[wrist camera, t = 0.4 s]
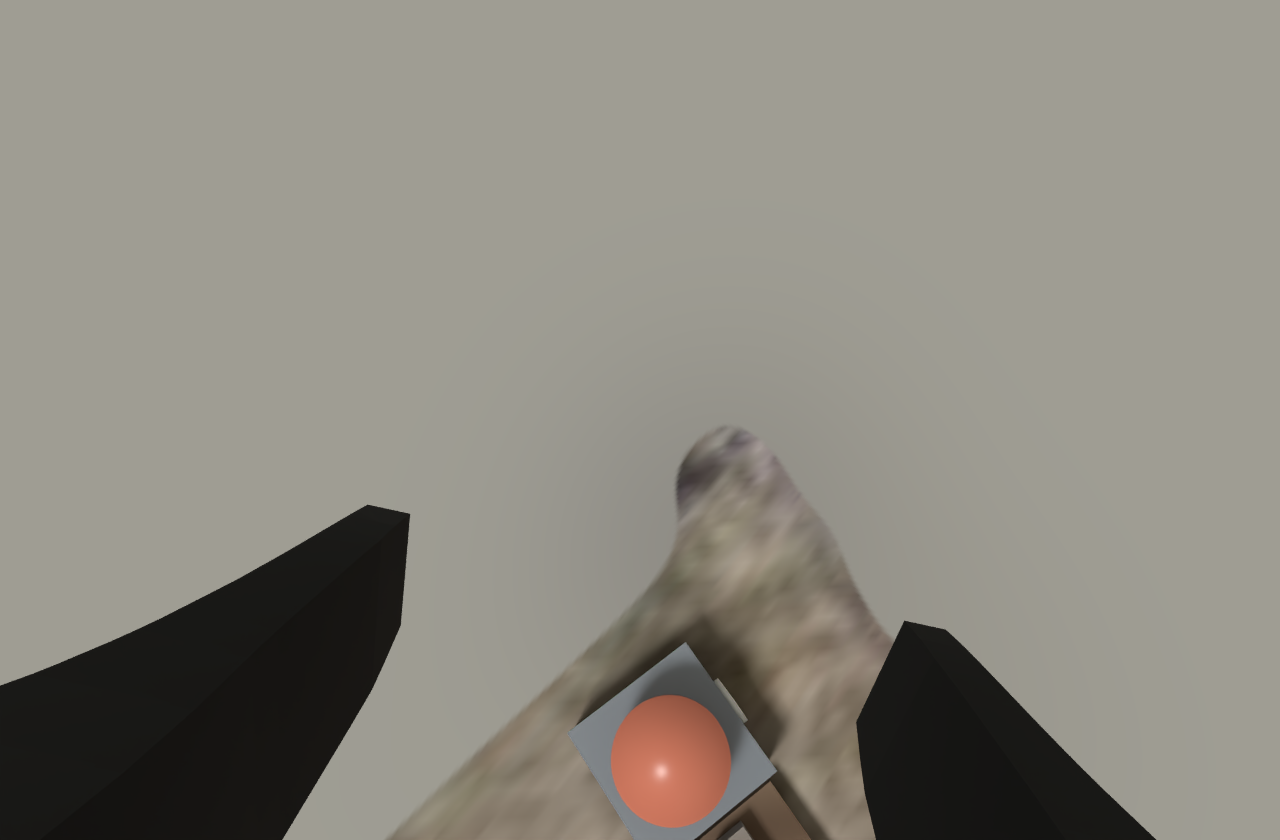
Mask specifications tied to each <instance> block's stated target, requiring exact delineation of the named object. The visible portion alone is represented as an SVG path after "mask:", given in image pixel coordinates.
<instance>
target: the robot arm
mask: <svg viewBox="0 0 1280 840" xmlns="http://www.w3.org/2000/svg"><path fill="white" fill-rule="evenodd" d="M409 520H410V514H408V513H404V512H399V511H394V510H389V509H385V508H381V507H376V506H371V505H366V506H364V507H363V508H361V509H359V510H357V511H356V512H354V513H352V514H350V515H349V516H347V517H345V518H343V519H342V520H340V521H338V522H337V523H335V524H333V525H331V526H330V527H328V528H326V529H325V530H323V531H321V532H319V533H318V534H316V535H315V536H313V537H311V538H309V539H308V540H306V541H304V542H303V543H301V544H299V545H297V546H296V547H294V548H292V549H291V550H289V551H287V552H285V553H284V554H282V555H280V556H278V557H277V558H275V559H273V560H271V561H269V562H268V563H266V564H264V565H262V566H260V567H259V568H257V569H255V570H253V571H252V572H250V573H248V574H246V575H244V576H243V577H241V578H239V579H237V580H235V581H234V582H231V583H229V584H228V585H225V586H224V587H222V588H220V589H218V590H216V591H214V592H212V593H210V594H208V595H206V596H204V597H202V598H200V599H198V600H196V601H194V602H192V603H190V604H188V605H186V606H184V607H182V608H180V609H178V610H176V611H174V612H173V613H171V614H169V615H167V616H165V617H163V618H161V619H159V620H157V621H155V622H152V623H150V624H148V625H146V626H144V627H142V628H140V629H137V630H135V631H133V632H131V633H129V634H126V635H124V636H122V637H120V638H117V639H115V640H113V641H111V642H108V643H106V644H104V645H101V646H99V647H96V648H94V649H92V650H89V651H87V652H85V653H82V654H80V655H78V656H75V657H73V658H71V659H68V660H66V661H64V662H61V663H59V664H56V665H54V666H51V667H49V668H46V669H44V670H41V671H39V672H36V673H34V674H31V675H28V676H25V677H23V678H20V679H17V680H15V681H12V682H9V683H7V684H4V685H1V686H0V840H282V839H283V838H284V836H285V834H286V833H287V831H288V829H289V828H290V826H291V824H292V823H293V821H294V819H295V818H296V816H297V814H298V813H299V811H300V809H301V808H302V806H303V804H304V803H305V801H306V799H307V798H308V796H309V794H310V793H311V791H312V789H313V788H314V786H315V784H316V783H317V781H318V779H319V778H320V776H321V774H322V773H323V771H324V769H325V768H326V766H327V764H328V763H329V761H330V759H331V758H332V756H333V755H334V753H335V751H336V749H337V748H338V746H339V745H340V743H341V741H342V740H343V738H344V736H345V734H346V733H347V731H348V729H349V728H350V726H351V724H352V723H353V721H354V719H355V718H356V716H357V714H358V713H359V711H360V709H361V707H362V706H363V704H364V702H365V701H366V699H367V697H368V695H369V694H370V692H371V690H372V688H373V686H374V684H375V682H376V680H377V677H378V675H379V673H380V671H381V669H382V667H383V664H384V662H385V660H386V658H387V656H388V653H389V651H390V649H391V646H392V644H393V642H394V639H395V637H396V635H397V633H398V630H399V628H400V626H401V615H402V614H401V613H402V604H403V591H404V580H405V568H406V555H407V544H408V532H409ZM856 724H857V733H858V743H859V752H860V761H861V768H862V776H863V783H864V790H865V796H866V800H867V804H868V808H869V813H870V817H871V821H872V825H873V829H874V833H875V837H876V840H1156V839H1155V838H1154V837H1153V836H1152V835H1151V834H1150V833H1149V832H1147V831H1146V830H1145V829H1144V828H1143V827H1142V826H1141V825H1140V824H1139V823H1138V822H1137V821H1136V820H1135V819H1134V818H1133V817H1132V816H1131V815H1130V814H1129V813H1128V812H1126V811H1125V810H1124V809H1123V808H1122V807H1121V806H1120V805H1119V804H1118V803H1117V802H1116V801H1115V800H1114V799H1113V798H1112V797H1111V796H1110V795H1109V794H1108V793H1106V792H1105V791H1104V790H1103V789H1102V788H1101V787H1100V786H1099V785H1098V784H1097V783H1096V782H1095V781H1094V780H1093V779H1092V778H1091V777H1090V776H1089V775H1088V774H1087V773H1086V772H1085V771H1084V770H1083V769H1082V768H1081V767H1080V766H1079V765H1078V764H1077V763H1076V762H1075V761H1074V760H1073V759H1072V758H1071V757H1070V756H1069V755H1068V754H1067V753H1066V752H1065V751H1064V750H1063V749H1062V748H1061V747H1060V746H1059V745H1058V744H1057V743H1056V742H1055V741H1054V739H1053V738H1051V736H1050V735H1048V733H1047V732H1046V731H1045V730H1044V729H1043V728H1042V727H1041V726H1040V725H1039V724H1038V723H1037V722H1036V721H1035V720H1034V719H1033V718H1032V717H1031V716H1030V715H1029V714H1028V713H1027V712H1026V711H1025V709H1023V707H1022V706H1020V704H1019V703H1018V702H1017V701H1016V700H1015V699H1014V698H1013V697H1012V696H1011V695H1010V694H1009V693H1008V692H1007V691H1006V690H1005V689H1004V687H1003V686H1002V685H1001V684H1000V683H999V682H998V681H997V680H996V679H995V678H994V677H993V676H992V675H991V674H990V673H989V672H988V671H987V670H986V669H985V668H984V667H983V666H982V665H981V664H980V662H979V661H978V660H977V659H976V658H975V657H973V655H972V654H970V652H969V651H968V650H967V649H966V648H965V647H964V646H962V645H961V643H959V642H958V641H957V640H956V639H955V638H954V637H953V636H952V635H951V634H950V633H949V632H948V631H946V630H944V629H940V628H936V627H931V626H926V625H922V624H917V623H912V622H908V621H904V623H903V625H902V627H901V629H900V631H899V633H898V635H897V637H896V639H895V642H894V644H893V646H892V648H891V650H890V652H889V654H888V656H887V658H886V661H885V663H884V665H883V667H882V669H881V671H880V673H879V675H878V677H877V679H876V682H875V684H874V686H873V688H872V690H871V692H870V694H869V696H868V698H867V701H866V703H865V705H864V707H863V709H862V711H861V713H860V715H859V717H858V719H857V722H856Z"/></svg>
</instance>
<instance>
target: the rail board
mask: <svg viewBox="0 0 1280 840" xmlns="http://www.w3.org/2000/svg"><path fill="white" fill-rule="evenodd" d="M694 840H811V838H810V837H809V836H808V834H807V833H806V831H805V830H804V828H803V827H802V826H801V824H800V823H799V821H798V820H797V818H796V817H795V816H794V814H793V813H792V811H791V810H790V809H789V807H788V806H787V804H786V803H785V801H784V800H783V799H782V797H781V796H780V794H779V793H778V791H777V790H776V789H775V787H774V786H773V784H772V783H771V781H770V780H769V779H767V780H766V781H765V782H764V783H762V784H761V785H760V786H759V787H758V788H756V789H755V790H754V791H753V792H751V793H750V794H749V795H748V796H747V797H745V798H744V799H743V800H742V801H741V802H739V803H738V804H737V805H736V806H734V807H733V808H732V809H731V810H730V811H728V812H727V813H726V814H725V815H723V816H722V817H721V818H720V819H719V820H717V821H716V822H715V823H714V824H713V825H711V826H710V827H709V828H708V829H706V830H705V831H704V832H703V833H702V834H700V835H699V836H698V837H697V838H695V839H694Z"/></svg>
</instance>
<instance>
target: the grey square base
mask: <svg viewBox="0 0 1280 840" xmlns="http://www.w3.org/2000/svg"><path fill="white" fill-rule="evenodd" d="M678 694H679V695H680V696H684V697H687V698H690V699H692V700H694V701H696V702H698V703H700V704H701V705H703V706H704V707H705V708H707V709H708V710H709V711H710V712H711V713H712V714H713V716H714V717H715V718H716V719H717V721H718V722H719V724H720V725H721V727H722V729H723V731H724V733H725V735H726V738H727V741H728V744H729V749H730V754H731V772H730V777H729V782H728V785H727V788H726V790H725V793H724V795H723V797H722V798H721V800H720V802H719V803H718V804H717V806H716V807H715V808H714V809H713V810H712V811H711V812H710V813H709V814H708V815H707V816H705V817H704V818H702V819H701V820H699V821H697V822H695V823H693V824H690V825H687V826H683V827H678V828H668V827H661V826H657V825H653V824H651V823H649V822H646V821H645V820H643V819H641V818H640V817H638V816H637V815H636V814H635V813H633V812H632V811H631V810H630V808H629V807H628V806H627V805H626V804H625V802H624V801H623V800H622V798H621V796H620V794H619V793H618V791H617V788H616V786H615V783H614V779H613V776H612V769H611V751H612V745H613V741H614V738H615V735H616V732H617V730H618V728H619V726H620V725H621V723H622V722H623V720H624V719H625V717H626V716H627V715H628V714H629V713H630V711H631V710H633V709H634V708H635V707H636V706H637V705H639V704H640V703H642V702H643V701H646V700H648V699H650V698H653V697H656V696H660V695H678ZM746 721H748V720H747V718H746V716H745V715H744V713H743V712H742V710H741V709H740V708H739V706H738V705H737V703H736V702H735V700H734V699H733V698H732V696H731V695H730V693H729V692H728V691H727V689H726V688H725V687H724V685H723V684H722V683H721V681H720V680H719V679H718V678H717V679H715V680H714V681H713V680H712V679H711V677H710V676H709V674H708V673H707V672H706V670H705V669H704V667H703V666H702V665H701V663H700V662H699V660H698V659H697V658H696V656H695V655H694V653H693V652H692V650H691V649H690V648H689V646H688V645H687V643H686V642H685V643H683V644H682V645H681V646H680V647H678V648H677V649H676V650H674V651H673V652H672V653H670V654H669V655H668V656H667V657H665V658H664V659H663V660H661V661H660V662H659V663H657V664H656V665H655V666H654V667H652V668H651V669H650V670H648V671H647V672H646V673H644V674H643V675H642V676H640V677H639V678H638V679H637V680H635V681H634V682H633V683H631V684H630V685H629V686H627V687H626V688H625V689H624V690H622V691H621V692H620V693H618V694H617V695H616V696H614V697H613V698H612V699H610V700H609V701H608V702H607V703H605V704H604V705H603V706H601V707H600V708H599V709H597V710H596V711H595V712H594V713H592V714H591V715H590V716H588V717H587V718H586V719H584V720H583V721H582V722H581V723H579V724H578V725H577V726H575V727H574V728H573V729H572V730H570V731H569V732H568V735H569V737H570V738H571V740H572V741H573V743H574V745H575V746H576V748H577V749H578V751H579V753H580V754H581V756H582V757H583V759H584V761H585V762H586V764H587V765H588V767H589V769H590V770H591V772H592V773H593V775H594V777H595V778H596V780H597V781H598V783H599V784H600V786H601V788H602V789H603V791H604V792H605V794H606V796H607V797H608V799H609V800H610V802H611V804H612V805H613V807H614V808H615V810H616V812H617V813H618V815H619V816H620V818H621V820H622V821H623V823H624V824H625V826H626V828H627V829H628V831H629V832H630V834H631V835H632V837H633V839H634V840H694V839H695V838H697V837H698V836H699V835H700V834H702V833H703V832H704V831H705V830H706V829H708V828H709V827H710V826H711V825H713V824H714V823H715V822H716V821H717V820H719V819H720V818H721V817H722V816H723V815H725V814H726V813H727V812H728V811H730V810H731V809H732V808H733V807H734V806H736V805H737V804H738V803H739V802H741V801H742V800H743V799H744V798H745V797H747V796H748V795H749V794H750V793H751V792H753V791H754V790H755V789H756V788H758V787H759V786H760V785H761V784H762V783H764V782H765V781H766V780H767V779H769V778H770V777H771V776H772V775H773V774H775V773H776V772H777V770H776V769H775V768H774V766H773V765H772V763H771V762H770V761H769V759H768V758H767V756H766V755H765V753H764V752H763V751H762V749H761V748H760V746H759V745H758V744H757V742H756V741H755V739H754V738H753V737H752V735H751V734H750V732H749V731H748V729H747V728H746V727H745V725H744V723H745V722H746Z"/></svg>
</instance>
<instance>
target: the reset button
mask: <svg viewBox="0 0 1280 840" xmlns="http://www.w3.org/2000/svg"><path fill="white" fill-rule="evenodd" d="M611 769H612V776H613V779H614V783H615V786H616V788H617V791H618V793H619V794H620V796H621V798H622V800H623V801H624V802H625V804H626V805H627V806H628V807H629V808H630V810H631V811H632V812H633V813H635V814H636V815H637V816H638V817H640V818H641V819H643V820H645V821H646V822H649V823H651V824H653V825H657V826H661V827H668V828H678V827H683V826H687V825H690V824H693V823H695V822H697V821H699V820H701V819H702V818H704V817H705V816H707V815H708V814H709V813H710V812H711V811H712V810H713V809H714V808H715V807H716V806H717V804H718V803H719V802H720V800H721V798H722V797H723V795H724V793H725V790H726V788H727V785H728V782H729V777H730V772H731V754H730V749H729V744H728V741H727V738H726V735H725V733H724V731H723V729H722V727H721V725H720V724H719V722H718V721H717V719H716V718H715V717H714V716H713V714H712V713H711V712H710V711H709V710H708V709H707V708H705V707H704V706H703V705H701V704H700V703H698V702H696V701H694V700H692V699H690V698H687V697H684V696H680V695H660V696H656V697H653V698H650V699H648V700H646V701H643V702H642V703H640V704H639V705H637V706H636V707H635V708H634V709H633V710H631V711H630V713H629V714H628V715H627V716H626V717H625V719H624V720H623V722H622V723H621V725H620V726H619V728H618V730H617V732H616V735H615V738H614V741H613V745H612V751H611Z"/></svg>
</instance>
